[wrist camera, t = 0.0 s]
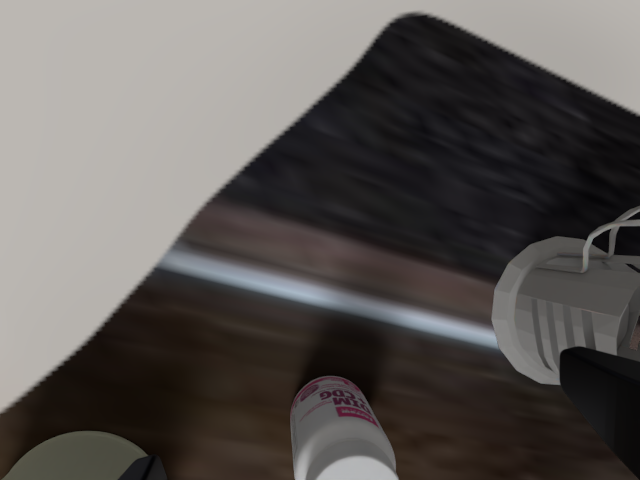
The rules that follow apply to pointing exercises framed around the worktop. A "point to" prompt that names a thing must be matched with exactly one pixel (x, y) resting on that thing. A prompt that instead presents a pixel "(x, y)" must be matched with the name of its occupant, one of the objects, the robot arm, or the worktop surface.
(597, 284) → the french press
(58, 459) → the can
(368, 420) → the pill bottle
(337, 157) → the worktop surface
